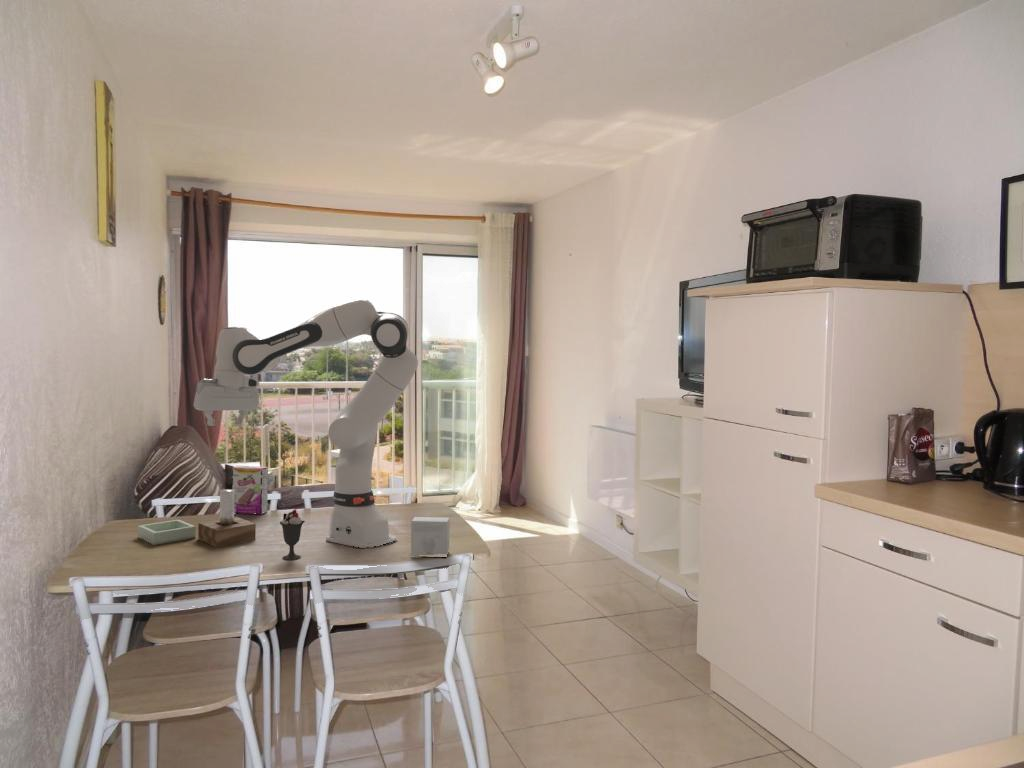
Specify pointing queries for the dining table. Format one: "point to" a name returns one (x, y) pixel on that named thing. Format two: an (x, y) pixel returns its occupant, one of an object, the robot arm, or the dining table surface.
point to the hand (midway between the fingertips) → (225, 425)
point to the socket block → (226, 532)
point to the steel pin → (226, 507)
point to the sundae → (291, 532)
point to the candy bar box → (250, 489)
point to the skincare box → (429, 535)
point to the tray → (166, 532)
